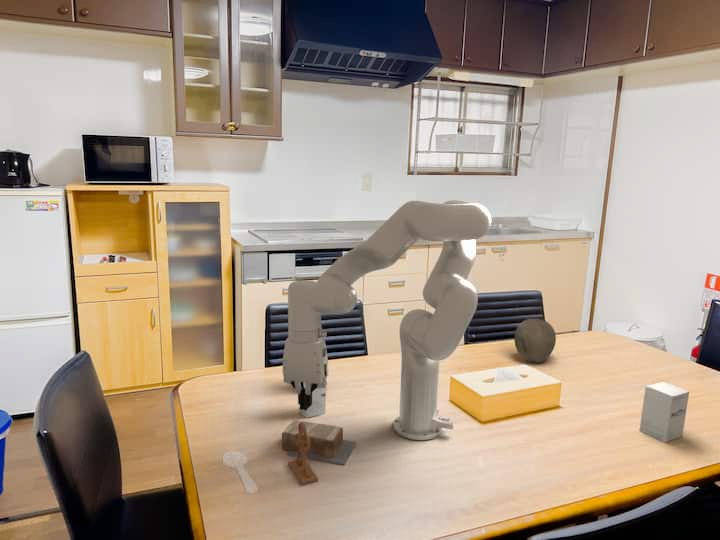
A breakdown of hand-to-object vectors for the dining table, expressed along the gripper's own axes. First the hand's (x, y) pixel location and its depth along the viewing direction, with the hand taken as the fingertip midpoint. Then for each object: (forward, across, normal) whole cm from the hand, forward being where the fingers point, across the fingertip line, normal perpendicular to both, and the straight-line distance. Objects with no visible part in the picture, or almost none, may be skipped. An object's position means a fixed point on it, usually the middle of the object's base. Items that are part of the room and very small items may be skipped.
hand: (305, 407), depth 125 cm
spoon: (+10, +10, +14) cm, 20 cm away
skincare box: (+10, +5, -17) cm, 20 cm away
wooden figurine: (+10, -4, +11) cm, 15 cm away
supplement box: (+11, -85, -34) cm, 93 cm away
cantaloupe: (+11, -55, -79) cm, 97 cm away
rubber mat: (+10, -4, 0) cm, 11 cm away
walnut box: (+8, +5, 0) cm, 9 cm away
